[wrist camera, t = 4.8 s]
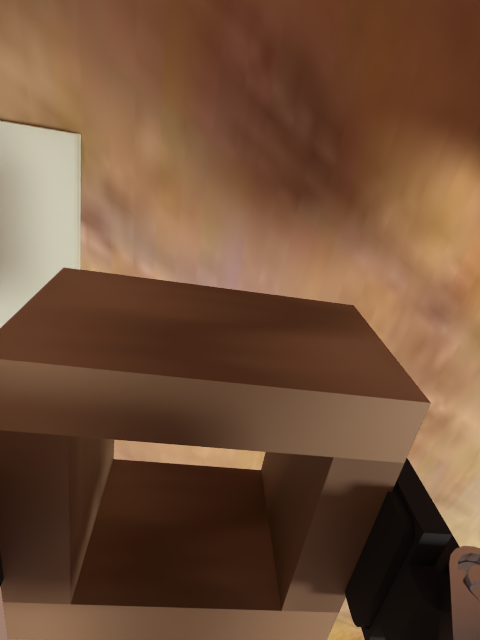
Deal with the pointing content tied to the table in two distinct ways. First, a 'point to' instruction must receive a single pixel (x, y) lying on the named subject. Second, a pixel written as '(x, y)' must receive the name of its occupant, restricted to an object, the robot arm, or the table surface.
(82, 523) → the walnut ring
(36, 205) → the post stand
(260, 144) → the table surface
